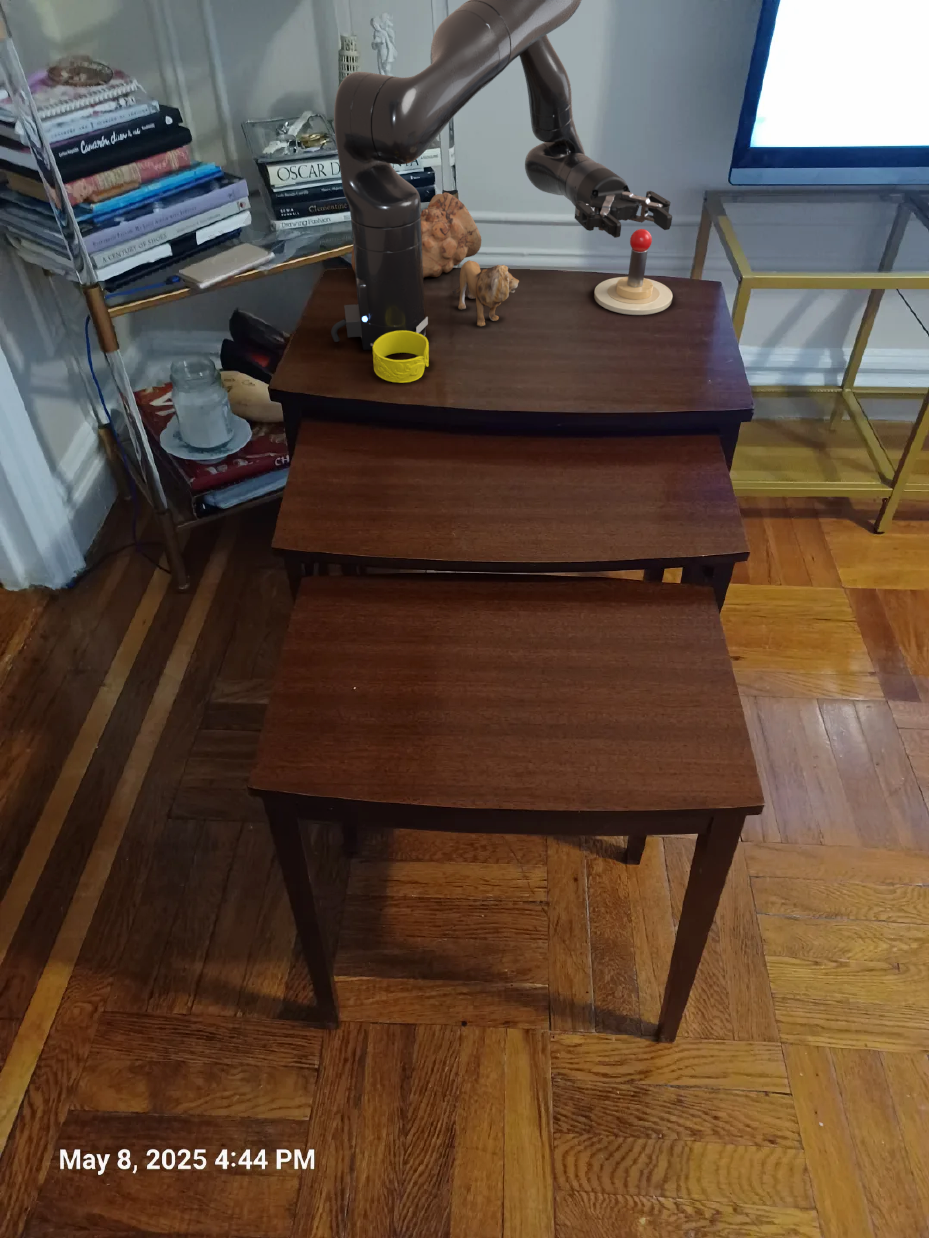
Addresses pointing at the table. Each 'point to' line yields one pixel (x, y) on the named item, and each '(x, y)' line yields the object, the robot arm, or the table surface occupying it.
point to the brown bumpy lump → (445, 235)
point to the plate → (616, 303)
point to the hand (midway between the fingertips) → (644, 227)
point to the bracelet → (400, 344)
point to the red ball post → (637, 269)
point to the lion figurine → (485, 287)
